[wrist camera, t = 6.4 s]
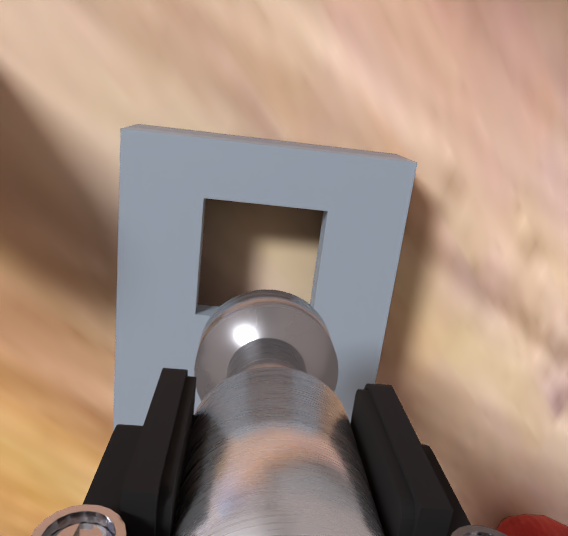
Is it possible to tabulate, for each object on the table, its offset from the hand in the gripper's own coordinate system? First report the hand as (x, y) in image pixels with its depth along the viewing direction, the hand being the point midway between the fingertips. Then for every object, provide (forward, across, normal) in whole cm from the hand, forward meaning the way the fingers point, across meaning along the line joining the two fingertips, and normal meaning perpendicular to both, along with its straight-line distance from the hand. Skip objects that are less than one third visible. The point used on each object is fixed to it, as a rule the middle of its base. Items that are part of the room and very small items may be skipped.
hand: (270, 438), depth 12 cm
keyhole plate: (+15, 0, +3) cm, 16 cm away
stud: (+4, 0, 0) cm, 4 cm away
